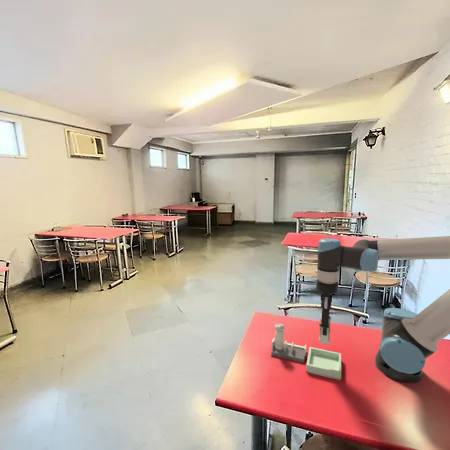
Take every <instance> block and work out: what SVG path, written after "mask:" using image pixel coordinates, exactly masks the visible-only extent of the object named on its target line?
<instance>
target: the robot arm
mask: <svg viewBox="0 0 450 450" xmlns="http://www.w3.org/2000/svg"><path fill="white" fill-rule="evenodd" d="M399 260H400V261H405V260H408V261H409V260H410V261H411V260H412V261H413V260H450V235H444V236H442V235H441V236H429V237H428V236H426V237H425V236H424V237H408V238H406V237H405V238H394V239H376V240H369V239H365V238H364V239H359V240H358V241H356V242H354V244H353V245H352V246H345V245H342V244H341V240H340V239H337V238H330V237H329V238H328V237H327V238H321V239H319V241H318V246H317V267H316V270H315V271H314V272H315V274H316V278H317V279H316V290H317V291H318V292H320V308H321V315H322V322H321V324H320V323H319V325H318V326H319V327H320V326H321V339H320V341H319V342H320V343H321V342H325V343H328V335H329V316H330V310H331V309H332V302H333V294H337V293H338V291H339V280H340V268H346V269H352V270H357V271H363V272H376V271H377V270H378V265H379V261H399ZM382 317H383V321H382V329H381V330H382V331H381V339H380V343H379V349H378V350H377V352H376V354H375V356H374V364H375V367H376V368H377V369H378V370H379V371H380V372H381V373H382V374H384V375H385V376H387V377H389V378H391V379H393V380H395V381H397V382H398V381H399V382H403V383H418V382H420V381H421V380H422V378H423V369H424V368H425V367H424V366H425V364H426V359H427V358H429V357H430V356H432V355H433V354H434V353H436V352H437V351H438V343H439V342H441V341H442V340H444V339H445V338H446V337H447V336H448V335H450V288H449V289H447V290H446V291H445V292H444V293H442V295H440V296H439V297H437V298H436V299H435V300H434V301H433V302H431V303H430V304H429V305H428V306H426V307H425V308H424V309H423V310H421V311H420V312H418V313H416V312H413V311H412V310H411V311H410V310H407V309H404V308H403V309H402V308H396V307H387V308H385V309H384V311H383V314H382Z"/></svg>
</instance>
